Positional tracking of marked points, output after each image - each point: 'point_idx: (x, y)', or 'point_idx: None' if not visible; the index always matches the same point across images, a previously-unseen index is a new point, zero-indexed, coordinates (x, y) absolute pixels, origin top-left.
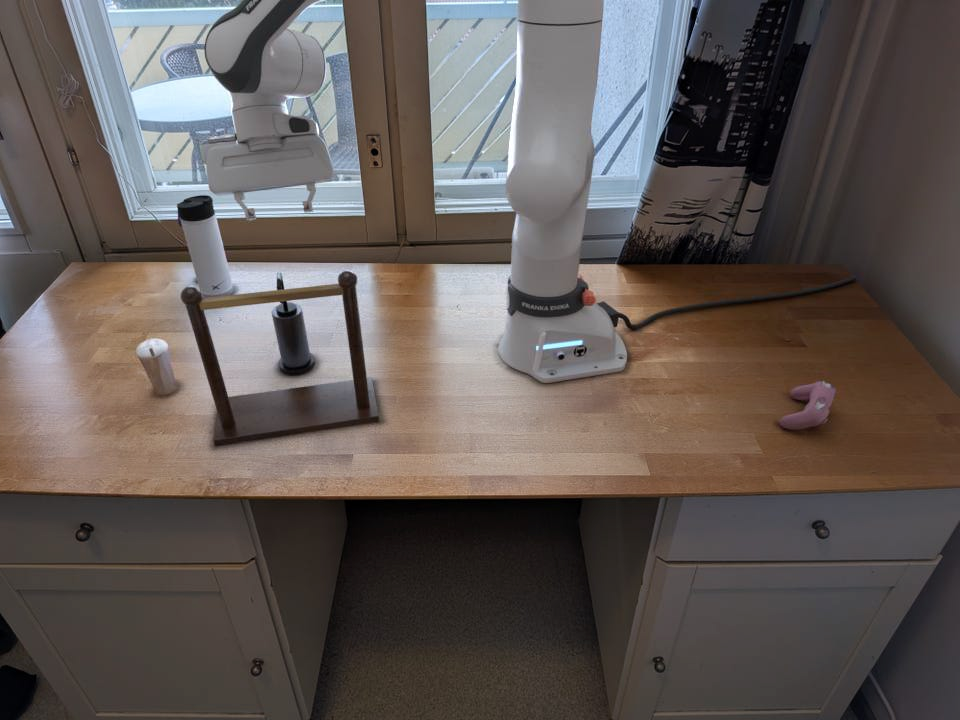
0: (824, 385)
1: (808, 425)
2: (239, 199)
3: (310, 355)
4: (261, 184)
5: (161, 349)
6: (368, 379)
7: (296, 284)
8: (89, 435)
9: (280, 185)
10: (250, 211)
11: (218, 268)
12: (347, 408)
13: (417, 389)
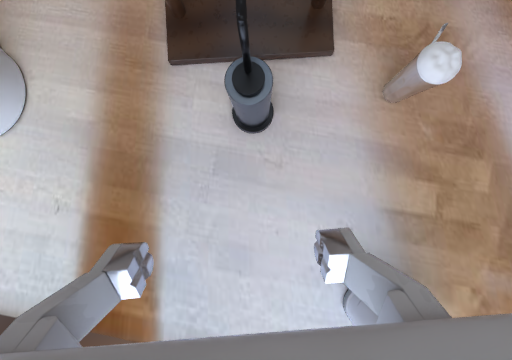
0: None
1: None
2: (401, 285)
3: (236, 119)
4: (294, 347)
5: (425, 51)
6: (171, 57)
7: (260, 305)
8: (456, 26)
9: (177, 340)
10: (337, 245)
11: (374, 314)
12: (195, 9)
13: (124, 46)
